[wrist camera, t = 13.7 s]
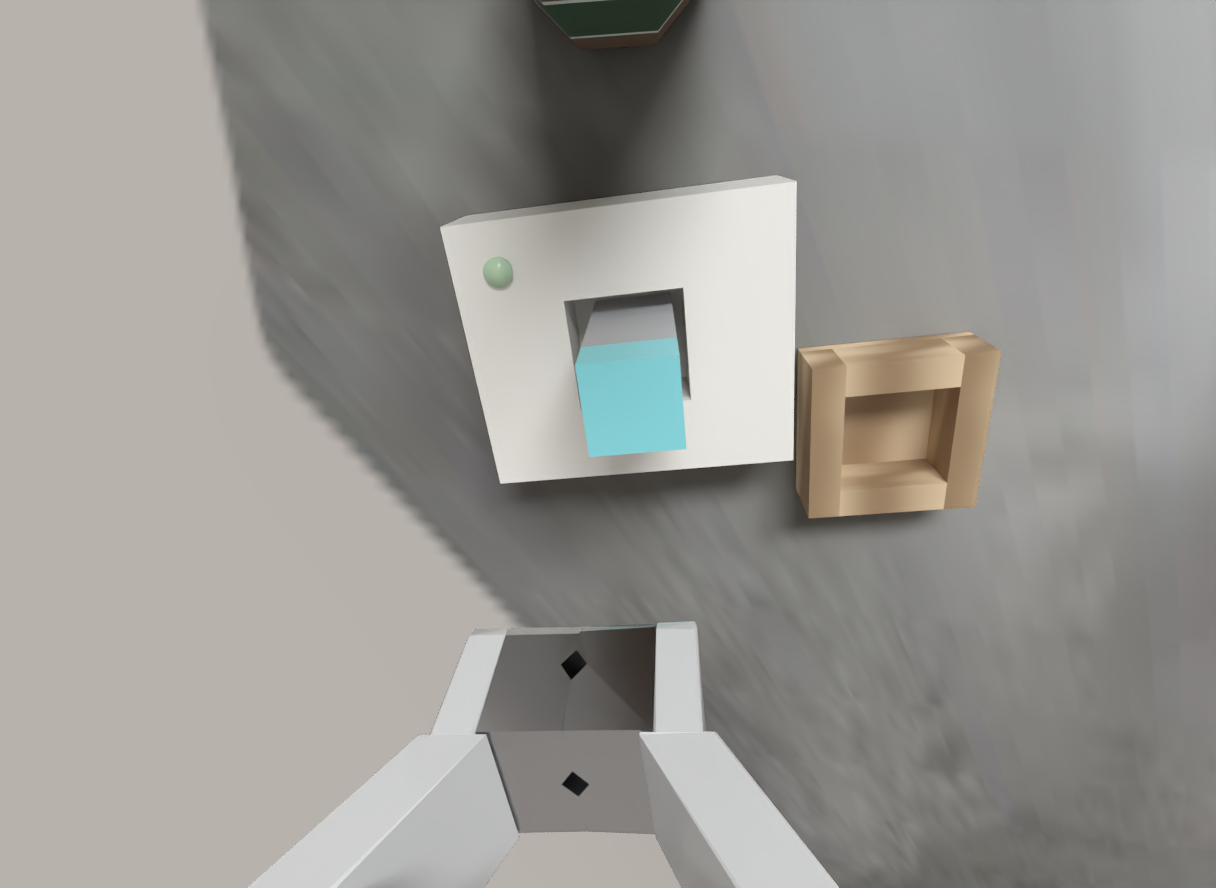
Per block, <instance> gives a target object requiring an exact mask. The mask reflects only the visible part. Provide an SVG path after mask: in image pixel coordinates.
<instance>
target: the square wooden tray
mask: <svg viewBox="0 0 1216 888" xmlns="http://www.w3.org/2000/svg"><path fill="white" fill-rule="evenodd" d="M1001 353H1002V351H1000V350H999V349H997V348H995V347H994V346H992V345H990V344H989V343H987V342H985V341H984V340H982V339H980V338H979V337H977V336H976V335H974V334H972V333H971V332H961V333H951V334H941V335H931V336H921V337H910V338H900V339H890V340H880V341H870V342H860V343H850V344H840V345H830V346H820V347H810V348H800V349H798V365H797V437H796V490H797V492H798V494H799V497H800V499H801V502H802V504H803V506H804V509H805V511H806V514H807V516H808V518H823V517H837V516H852V515H866V514H881V513H895V512H909V511H924V510H938V509H952V508H967V507H976V501H977V495H978V489H979V483H980V477H981V471H982V465H983V460H984V454H985V448H986V442H987V436H988V430H989V424H990V418H991V412H992V406H993V400H994V394H995V389H996V383H997V377H998V371H999V365H1000V359H1001Z"/></svg>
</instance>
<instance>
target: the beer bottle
mask: <svg viewBox="0 0 1216 888" xmlns="http://www.w3.org/2000/svg"><path fill="white" fill-rule="evenodd" d="M533 1H534V2H535V3H536V4H537V5H538V6H539V7H540V8H541V9H542V10H543V12H544V13H545V14H546V15H547V16H548V17H549V18H550V19H551V20H552V21H553V22H554V23H555V24H556V25H557V26H558V27H559V28H560V29H561V30H562V31H563V32H564V33H565V34H566V35H567V36H568V38H569V39H570V40H571V41H572V42H573V43H574V44H575V45H576V46H577V47H578V48H580V49H582V50H593V49H607V48H621V47H635V46H649V45H656V44H657V42H658V41H659V40H660V39H661V37H662V36H663V35H664V33H665V32H666V31H667V30H668V28H669V27H670V26H671V25H672V23H673V22H674V21H675V19H676V18H677V17H678V16H679V14H680V13H681V12H682V10H683V9H684V8H685V7H686V5H687V4H688V3H689V1H690V0H533Z"/></svg>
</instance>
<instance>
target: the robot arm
mask: <svg viewBox="0 0 1216 888" xmlns="http://www.w3.org/2000/svg"><path fill="white" fill-rule="evenodd" d="M577 831H590V832H591V831H592V832H616V833H639V834H640V833H641V834H655V835H656V839H657V841H658V843H659V845H660V847H661V848H662V851H663V853H664V854H665V856H666V858H667V860H668V862H669V864H670V866H671V868H672V870H673V872H674V874H675V876H676V878H677V880H678V881H679V884H680V886H681V888H839V887H838V885H837V884H836V883H835V882H834V880H833V879H832V878H831V877H830V875H829V874H828V873H827V872H826V870H825V869H824V868H823V867H822V865H821V864H820V863H819V861H818V860H817V859H816V858H815V856H814V855H813V854H812V853H811V851H810V850H809V849H808V848H807V846H806V845H805V844H804V842H803V841H802V840H801V839H800V837H799V836H798V835H797V834H796V832H795V831H794V830H793V829H792V827H791V826H790V825H789V824H788V822H787V821H786V820H785V818H784V817H783V816H782V815H781V813H780V812H779V811H778V810H777V808H776V807H775V806H774V805H773V803H772V802H771V801H770V799H769V798H768V797H767V796H766V794H765V793H764V792H763V791H762V789H761V788H760V787H759V786H758V784H757V783H756V782H755V781H754V779H753V778H752V777H751V775H750V774H749V773H748V772H747V770H746V769H745V768H744V767H743V765H742V764H741V763H740V762H739V760H738V759H737V758H736V756H735V755H734V754H733V753H732V751H731V750H730V749H729V748H728V746H727V745H726V744H725V743H724V741H723V740H722V739H721V738H720V736H719V735H718V734H717V732H709V731H706V730H705V718H704V706H703V694H702V682H701V670H700V658H699V646H698V634H697V625H696V623H695V622H694V621H691V622H670V623H655V624H633V625H610V626H588V627H550V628H511V629H475V630H474V631H473V632H472V634H471V635H470V636H469V637H468V638H467V641H466V643H465V646H464V648H463V651H462V653H461V656H460V659H459V661H458V664H457V666H456V669H455V671H454V674H453V676H452V679H451V682H450V684H449V687H448V689H447V692H446V694H445V697H444V699H443V702H442V704H441V707H440V710H439V712H438V715H437V717H436V720H435V722H434V725H433V727H432V730H431V732H430V734H429V735H418V736H417V737H415V738H414V739H413V740H412V741H411V742H410V743H409V744H408V745H406V746H405V747H404V748H403V749H402V750H401V751H400V752H399V753H398V754H396V755H395V756H394V757H393V758H392V759H391V760H390V761H389V762H387V763H386V764H385V765H384V766H383V767H382V768H381V769H380V770H378V771H377V772H376V773H375V774H374V775H373V776H372V777H371V778H370V779H368V780H367V781H366V782H365V783H364V784H363V785H362V786H361V787H359V788H358V789H357V790H356V791H355V792H354V793H353V794H352V795H351V796H350V797H348V798H347V799H346V800H345V801H344V802H343V803H342V804H340V805H339V806H338V807H337V808H336V809H335V810H334V811H333V812H332V813H330V814H329V815H328V816H327V817H326V818H325V819H324V820H323V821H321V822H320V823H319V824H318V825H317V826H316V827H315V828H314V829H312V830H311V831H310V832H309V833H308V834H307V835H306V836H305V837H303V839H301V840H300V841H299V842H298V843H297V844H296V845H295V846H293V847H292V848H291V849H290V850H289V851H288V852H287V853H286V854H284V855H283V856H282V857H281V858H280V859H279V860H278V861H277V862H276V863H274V864H273V865H272V866H271V867H270V868H269V869H268V870H267V871H265V873H263V874H262V875H261V876H260V877H259V878H258V879H257V880H255V881H254V882H253V883H252V884H251V885H250V886H249V887H248V888H484V887H485V886H486V884H487V883H488V882H489V880H490V879H491V877H492V876H493V874H494V873H495V872H496V870H497V869H498V867H499V866H500V864H501V863H502V862H503V860H504V859H505V857H506V856H507V855H508V853H509V852H510V850H511V849H512V847H513V846H514V845H515V843H516V842H517V840H518V839H519V833H527V832H577Z"/></svg>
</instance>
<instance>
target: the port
mask: <svg viewBox="0 0 1216 888" xmlns="http://www.w3.org/2000/svg"><path fill="white" fill-rule="evenodd" d="M796 191H797V181H794V180H791V179H787V178H784V177H781V176H778V175H774V176H767V177H759V178H751V179H744V180H736V181H728V182H721V183H713V184H705V185H698V186H690V187H682V188H675V189H667V190H659V191H651V192H644V193H636V194H628V195H621V196H613V197H605V198H598V199H590V200H582V201H575V202H567V203H559V204H552V205H544V206H536V207H529V208H521V209H513V210H505V211H498V212H490V213H482V214H475V215H467V216H464V217H462V218H460V219H458V220H455V221H453V222H451V223H448V224H446V225H444V226H442V227H440V229H441V233H442V238H443V242H444V246H445V250H446V255H447V259H448V263H449V267H450V271H451V276H452V280H453V284H454V288H455V293H456V297H457V301H458V305H459V310H460V314H461V318H462V322H463V327H464V331H465V335H466V339H467V344H468V348H469V352H470V356H471V361H472V365H473V369H474V373H475V378H476V382H477V386H478V390H479V395H480V399H481V403H482V407H483V411H484V416H485V420H486V424H487V428H488V433H489V437H490V441H491V445H492V450H493V454H494V458H495V462H496V467H497V471H498V475H499V479H500V484H503V483H515V482H528V481H540V480H553V479H565V478H578V477H590V476H603V475H615V474H628V473H640V472H653V471H665V470H678V469H690V468H703V467H715V466H728V465H740V464H753V463H765V462H778V461H790V460H793V450H794V363H795V277H796ZM662 293H671V299H672V306H673V313H674V320H675V327H676V334H677V342H678V349H679V356H680V369H681V382H682V396H683V409H684V422H685V435H686V449H682V450H670V451H658V452H646V453H634V454H622V455H610V456H598V457H589V452H588V446H587V440H586V433H585V427H584V421H583V414H582V408H581V401H580V395H579V389H578V382H577V376H576V369H575V364H576V361H577V358H578V354H579V351H580V348H581V345H582V342H583V339H584V336H585V332H586V329H587V326H588V323H589V320H590V317H591V314H592V311H593V307H594V304H595V301H599V300H608V299H617V298H626V297H635V296H644V295H653V294H662Z"/></svg>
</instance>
